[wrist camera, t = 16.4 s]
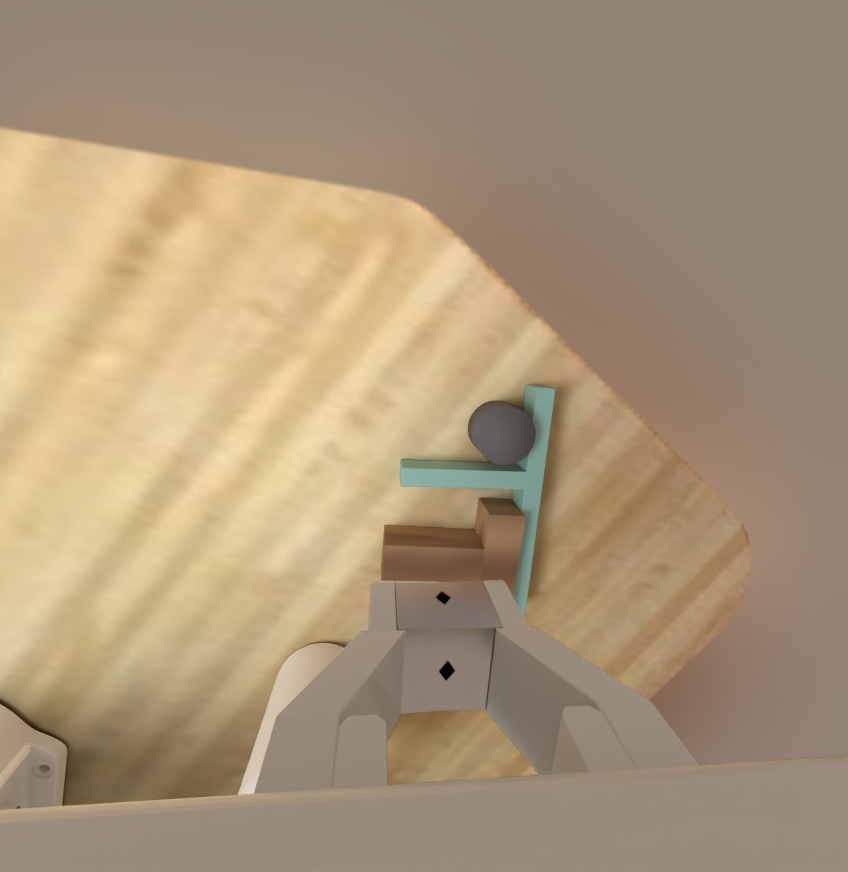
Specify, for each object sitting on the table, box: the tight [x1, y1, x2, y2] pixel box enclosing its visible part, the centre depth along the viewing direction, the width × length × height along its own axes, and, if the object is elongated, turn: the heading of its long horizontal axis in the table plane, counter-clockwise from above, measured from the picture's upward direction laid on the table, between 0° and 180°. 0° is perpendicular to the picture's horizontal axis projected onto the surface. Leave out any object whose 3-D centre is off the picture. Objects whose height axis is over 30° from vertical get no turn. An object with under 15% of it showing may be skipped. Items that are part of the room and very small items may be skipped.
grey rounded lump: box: [468, 401, 536, 465], centre depth 31 cm, size 4×4×4 cm
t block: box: [381, 498, 526, 596], centre depth 33 cm, size 10×11×4 cm
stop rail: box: [400, 385, 555, 616], centre depth 33 cm, size 20×12×2 cm, turn 176°
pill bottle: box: [238, 643, 344, 795], centre depth 29 cm, size 8×8×15 cm
